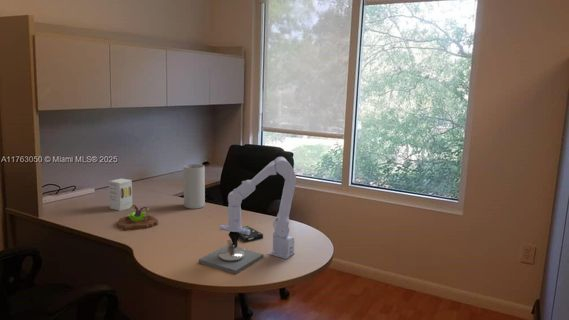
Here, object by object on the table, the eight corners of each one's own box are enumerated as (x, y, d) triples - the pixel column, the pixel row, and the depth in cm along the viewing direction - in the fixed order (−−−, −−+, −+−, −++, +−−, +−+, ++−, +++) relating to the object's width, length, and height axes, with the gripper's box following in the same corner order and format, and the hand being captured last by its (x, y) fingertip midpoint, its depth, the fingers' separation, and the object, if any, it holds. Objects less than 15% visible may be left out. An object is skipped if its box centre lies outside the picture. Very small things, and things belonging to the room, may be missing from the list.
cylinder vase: (207, 204, 273) (207, 164, 269) (200, 209, 261) (200, 168, 257) (188, 202, 275) (188, 163, 271) (180, 208, 263) (179, 167, 259)
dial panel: (263, 257, 195) (263, 254, 195) (236, 274, 178) (236, 270, 178) (227, 247, 205) (227, 244, 205) (198, 262, 188) (198, 258, 188)
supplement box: (120, 211, 255) (118, 183, 251) (109, 208, 259) (108, 180, 256) (133, 207, 263) (132, 179, 260) (122, 204, 267) (121, 177, 264)
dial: (246, 260, 187) (246, 249, 186) (220, 262, 184) (220, 251, 184) (240, 247, 201) (240, 237, 200) (216, 249, 198) (216, 239, 197)
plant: (112, 222, 236) (111, 202, 234) (148, 216, 248) (147, 197, 246) (124, 233, 221) (123, 212, 218) (162, 226, 232) (161, 206, 230)
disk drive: (263, 239, 219) (247, 230, 230) (263, 234, 218) (247, 225, 229) (246, 243, 212) (230, 234, 224) (246, 238, 212) (230, 229, 223)
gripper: (253, 218, 195) (253, 246, 197) (224, 213, 200) (225, 241, 203) (246, 222, 188) (246, 252, 191) (216, 218, 194) (217, 247, 196)
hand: (234, 247), depth 196 cm, fingers closed, pressing on dial
